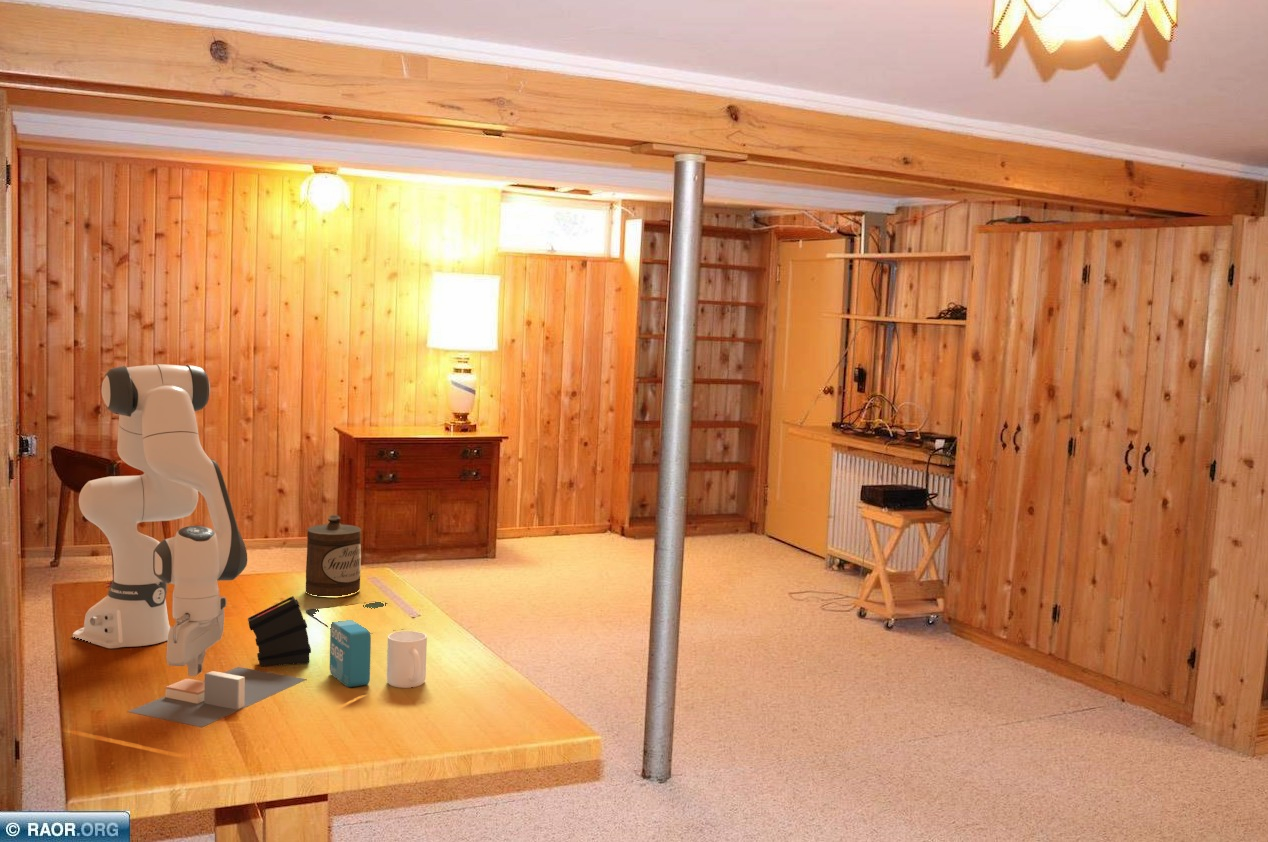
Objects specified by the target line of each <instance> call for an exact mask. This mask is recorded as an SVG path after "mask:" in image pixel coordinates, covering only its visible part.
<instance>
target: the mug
mask: <svg viewBox="0 0 1268 842" xmlns="http://www.w3.org/2000/svg"><path fill="white" fill-rule="evenodd" d="M427 643H428V635H427V634H426V633H424V632H421V631H420V632H419V631H416V630H415V631H414V630H402V631H400V630H399V631H395V632H392V633H390V634H388V635H387V655H386V657H387V658H386V661H387V662H386V681H387V684H388V685H389V686H391V687H394V688H399V689H412V688H411V687H413V688H417V687H420V686H422V685H423V684H424V683H425V681H426V676H427Z"/></svg>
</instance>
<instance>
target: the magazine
mask: <svg viewBox="0 0 1268 842" xmlns="http://www.w3.org/2000/svg"><path fill="white" fill-rule="evenodd" d="M247 622H248V626H249V627H248V628H249V630H250V631H252V632H253V633H254V636H255V637H256V638H255V640H254V641H255V644H256V646H257V647H258V653H256V654H257V655H256V656H257V662H258V663H259V667H276V666H289V665H305V664H307V665H308V664H310V654H311V653H312V647H311V645H310V642H309V641H310V640H309V635H308V630H307V628H308V625H307V621H306V619H305V618H304V617H303V612H302V611H301V609H300V604H299V601H298V599H297V598H296V599H295V596H294V595H292V596H290V597H287V598H286V599H284V600H282V601H280V602H277V603H276V604H274V605H272V606H269V607H268V608H265V609H264V610H262V611H260V612H257V613H256V614H254V615H252V616H249V617H248V618H247Z"/></svg>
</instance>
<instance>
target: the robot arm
mask: <svg viewBox="0 0 1268 842" xmlns="http://www.w3.org/2000/svg"><path fill="white" fill-rule="evenodd" d="M100 390H101V397H102V400H103V402H104V406H105V407H106V409H107V410H108V411H110V412H111V413H112V414H116V415H119V417H118V425H117V426H118V429H117V445H116V447H117V448H116V450H117V451H116V452H117V454H118V456H119V457H118V458H120V459H121V461H123V462H124V463H125V464H126V465H128V466H130V467H132V468H134V469H136V470H140V471H141V472H143V474H139V475H117V476H115V475H114V476H113V475H112V476H111V475H110V476H106V477H101V478H96V479H92V480H88V481H87V482H86V483H85V484H84V486H83V487H82V488H81V490H80V492H79V496H78V506H79V511H80V512H81V514H82V515H83V517H84V518H85V519H86V520H87V521H89V522H90V523H91V524H93V525H95V526H96V527H98V529H100V531H102V533H103V534H104V535H105V537H106V539H107V541H108V542H109V545H110V547H111V553H112V561H113V579H112V581H109V582H104V585H105V586H104V587H103V588H104V589H108V588H109V589H108V591H107V594H106V596H105V597H103V598H101V599H100V601H98V602H97V603H95V604H94V605H93V606H91V607H90V608H88V610H87V611H86V613H85V615H84V616H85V617H84V620H83V621H84V623H83V627H81V628H79V629H77V630H75V631H74V632H73V633H72V638H74V637H75V638H74V639H77V638H79V639H78V640H80V639H82V640H81V641H83V640H85V641H84V642H86V641H88V642H87V643H90V642H91V643H90V644H92V645H93V644H94V645H97V646H98V647H99V646H100V647H103V648H106V649H119V648H126V647H127V648H128V647H142V646H143V647H144V646H150V645H156V644H159V643H163V642H166V641H167V643H166V658H165V659H166V663H167V665H168V666H171V667H172V666H173V667H185V666H186V667H187V675H188V676H189V677H197V676H199V674H200V673H202V671H203V663H204V661H205V656H206V651H207V650H208V649H209V648H211V647H212V646H213V645H215V644H216V643H217V642H219V641H221V639H222V637H223V633H224V626H225V608H226V607H227V603H228V602H227V601H228V600H227V597H226V596H220V589H219V586H218V581H233V580H235V579H236V578H237V577H238V576H240V574H242V572H243V571H244V570H245V569H246V567H247V564H248V553H247V548H246V545H245V541H244V540H243V537H242V534H241V532H240V529H239V527H238V524H237V520H236V517H235V514H234V510H233V506H232V503H231V499H230V496H229V492H228V489H227V485H226V481H225V479H224V477H223V473H222V470H221V468H220V466H219V464H218V463H217V462H216V460H214V459H211V458H210V457H209V456H208V455H207V454H206V452H205V450H204V448H203V447H202V444H201V441H200V435H199V427H198V421H197V415H196V412H198V411H200V410H203V409H204V408H205V407H206V406H207V404H208V403H209V400H210V399H209V398H210V395H211V383H210V379H209V376H208V375H207V372H206V371H205V370H204V369H203V368H202V367H200V366H196V365H193V364H192V365H191V364H185V365H179V364H163V363H162V364H161V363H160V364H159V363H157V364H148V365H147V364H146V365H137V366H136V365H135V366H128V367H127V366H124V365H123V366H118V367H113V368H110V369H109V370H108V371H107V372H106V373H105V375H104V378H103V380H102V384H101V389H100ZM199 493H200V494H201V496H202V497H203V498H204V501H205V502H206V505H207V510H208V513H209V517H210V520H211V521H210V522H211V524H212V527H213V529H212V528H210V527H207V526H202V525H188V526H184V527H182V528H180V529H178V530H177V531H176V533H175V536H172V537H169V538H165V539H163V540H161V541H159V540H157V539H155V537H151V536H149V535H146V534H143V533H142V532H139V530H138V524H140V523H143V522H144V523H146V522H147V523H151V522H166V521H168V522H169V521H175V520H178V519H182V518H186V517H189V516H191V515H192V514H193V513H194V512H195V510H196V508H197V505H198V502H199ZM168 584H172V585H174V586H173V590H172V602H171V603H172V607H171V608H172V614H171V615H172V618H173V619H174V620H175V621H174V625H170V622H169V616H168V608H167V600H166V597H167V592H168V590H167V589H168Z"/></svg>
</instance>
